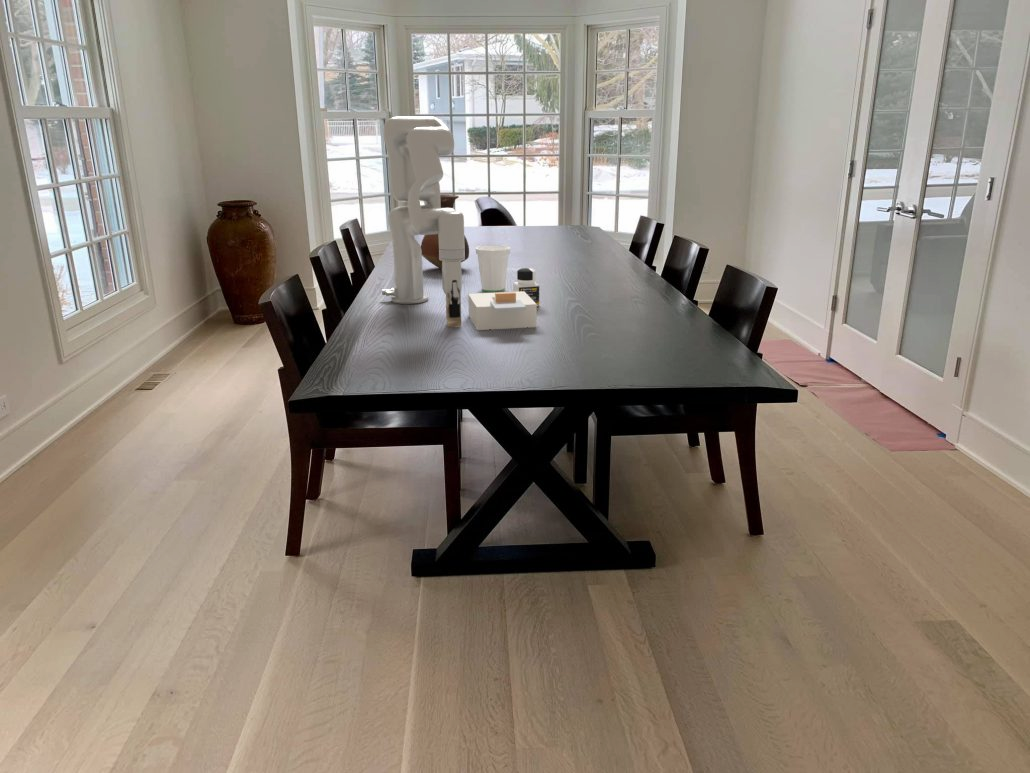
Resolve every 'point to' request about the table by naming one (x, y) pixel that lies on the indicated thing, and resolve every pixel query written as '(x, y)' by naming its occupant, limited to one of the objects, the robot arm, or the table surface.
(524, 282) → the medicine bottle
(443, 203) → the vase
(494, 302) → the grey tile with orange
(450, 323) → the plug
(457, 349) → the table surface
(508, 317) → the socket
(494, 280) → the cup
